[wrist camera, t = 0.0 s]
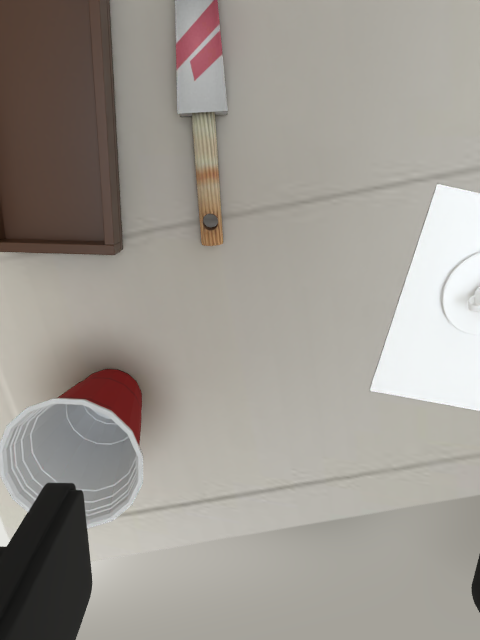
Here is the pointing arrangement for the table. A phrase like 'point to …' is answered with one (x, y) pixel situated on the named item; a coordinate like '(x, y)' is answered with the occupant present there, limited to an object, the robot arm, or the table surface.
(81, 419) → the plastic cup
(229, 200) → the table surface
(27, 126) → the tray
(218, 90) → the paintbrush
